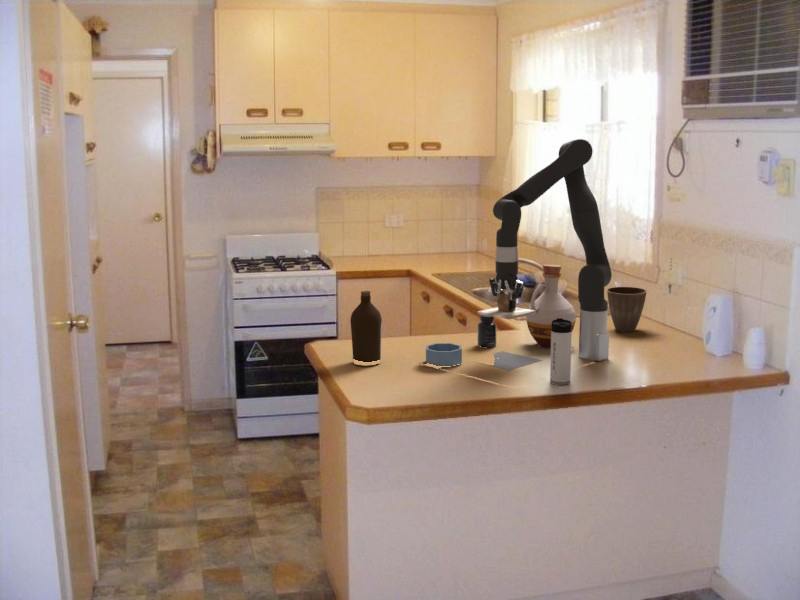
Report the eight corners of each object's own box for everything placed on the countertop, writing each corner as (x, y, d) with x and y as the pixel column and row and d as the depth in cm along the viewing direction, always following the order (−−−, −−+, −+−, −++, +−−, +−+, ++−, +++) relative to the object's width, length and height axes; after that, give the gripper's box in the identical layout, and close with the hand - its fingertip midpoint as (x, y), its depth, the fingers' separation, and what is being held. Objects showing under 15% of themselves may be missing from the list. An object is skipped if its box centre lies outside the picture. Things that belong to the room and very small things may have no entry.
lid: (536, 312, 305) (536, 293, 304) (509, 319, 295) (509, 299, 294) (503, 307, 315) (503, 288, 313) (477, 313, 305) (477, 294, 304)
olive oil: (360, 368, 302) (358, 295, 297) (346, 361, 311) (344, 290, 306) (387, 364, 307) (386, 292, 302) (373, 357, 316) (372, 287, 311)
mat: (542, 361, 308) (543, 360, 308) (509, 372, 296) (509, 370, 296) (502, 352, 321) (502, 351, 321) (468, 362, 309) (468, 360, 309)
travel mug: (567, 379, 287) (569, 317, 283) (572, 385, 281) (573, 322, 277) (548, 379, 287) (549, 318, 283) (552, 385, 281) (553, 322, 277)
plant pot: (646, 335, 345) (648, 294, 341) (606, 334, 347) (607, 293, 344) (643, 326, 359) (644, 287, 356) (604, 325, 362) (606, 286, 359)
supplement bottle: (474, 346, 331) (474, 314, 329) (491, 344, 333) (491, 312, 331) (482, 350, 325) (482, 318, 322) (499, 348, 327) (499, 316, 325)
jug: (549, 355, 317) (551, 271, 311) (512, 346, 330) (513, 265, 325) (585, 346, 329) (587, 264, 323) (548, 337, 343) (549, 259, 337)
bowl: (468, 364, 306) (468, 347, 305) (444, 371, 298) (444, 353, 297) (443, 358, 315) (443, 341, 314) (418, 364, 307) (418, 347, 305)
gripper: (530, 260, 299) (530, 311, 302) (497, 256, 309) (497, 305, 312) (516, 262, 294) (516, 314, 297) (483, 258, 304) (483, 308, 307)
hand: (506, 309), depth 305 cm, fingers closed on lid, 4 cm apart
